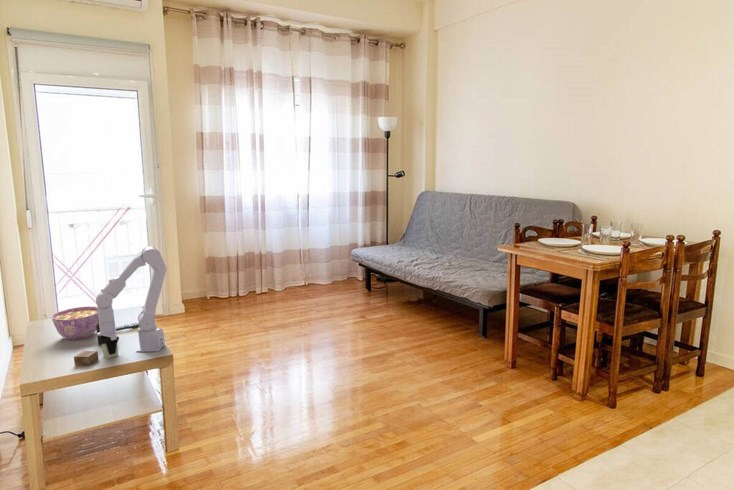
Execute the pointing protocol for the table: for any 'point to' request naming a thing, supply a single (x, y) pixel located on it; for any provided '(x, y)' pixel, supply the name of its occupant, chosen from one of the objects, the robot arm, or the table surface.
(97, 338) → the supplement bottle
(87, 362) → the walnut block
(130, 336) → the table surface
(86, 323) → the bowl of food
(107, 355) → the sage block
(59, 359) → the table surface
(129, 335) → the table surface
